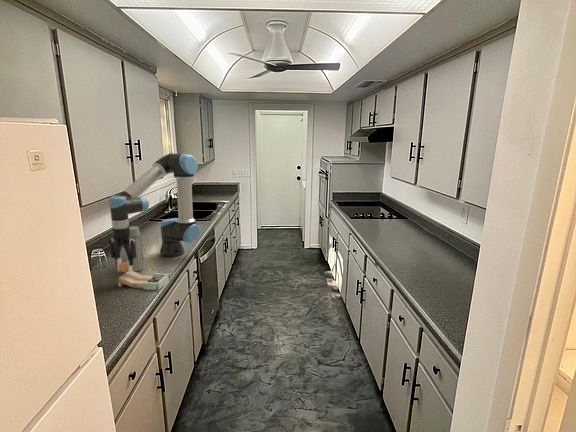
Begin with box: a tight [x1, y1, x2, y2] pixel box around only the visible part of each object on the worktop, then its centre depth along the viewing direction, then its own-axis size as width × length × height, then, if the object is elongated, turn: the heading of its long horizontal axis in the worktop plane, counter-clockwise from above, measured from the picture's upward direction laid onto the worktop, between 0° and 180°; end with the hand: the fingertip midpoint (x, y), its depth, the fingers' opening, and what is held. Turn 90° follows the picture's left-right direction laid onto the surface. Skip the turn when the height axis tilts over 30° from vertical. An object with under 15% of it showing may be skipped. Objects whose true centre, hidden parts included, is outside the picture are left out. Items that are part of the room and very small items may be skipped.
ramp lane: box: [117, 271, 156, 289], centre depth 168 cm, size 10×14×5 cm
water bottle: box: [128, 225, 147, 273], centre depth 183 cm, size 9×8×25 cm
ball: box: [119, 261, 128, 273], centre depth 167 cm, size 5×5×5 cm
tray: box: [142, 272, 170, 291], centre depth 167 cm, size 12×8×4 cm, turn 174°
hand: (125, 270), depth 167 cm, fingers closed on ball, 5 cm apart
